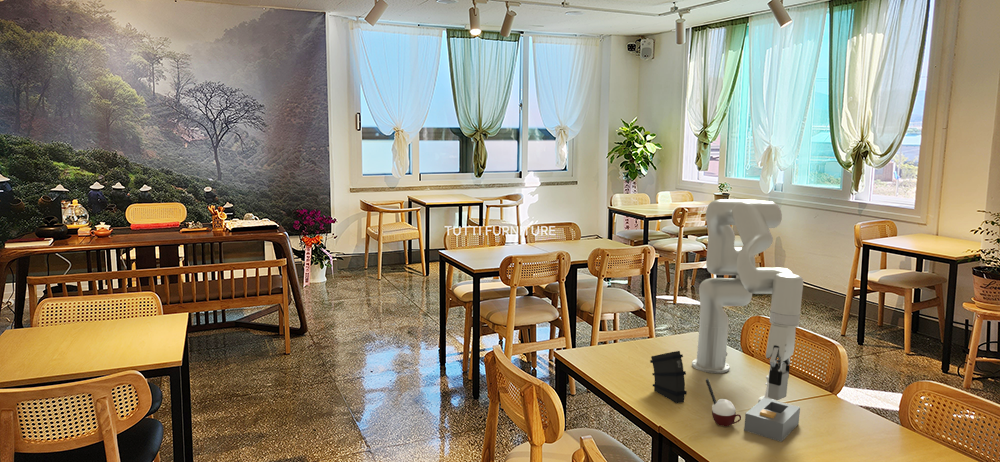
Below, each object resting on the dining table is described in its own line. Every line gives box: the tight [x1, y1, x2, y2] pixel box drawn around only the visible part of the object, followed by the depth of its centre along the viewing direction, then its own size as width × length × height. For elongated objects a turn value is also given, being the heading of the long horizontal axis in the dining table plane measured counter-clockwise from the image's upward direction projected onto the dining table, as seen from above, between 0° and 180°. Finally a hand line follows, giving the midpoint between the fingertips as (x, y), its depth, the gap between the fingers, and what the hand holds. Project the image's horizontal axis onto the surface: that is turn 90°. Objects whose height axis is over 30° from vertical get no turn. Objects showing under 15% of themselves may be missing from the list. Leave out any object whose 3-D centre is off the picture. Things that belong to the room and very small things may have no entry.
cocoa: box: [705, 377, 742, 427], centre depth 187 cm, size 10×6×12 cm
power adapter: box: [768, 358, 790, 401], centre depth 187 cm, size 3×5×12 cm, turn 128°
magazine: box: [649, 350, 687, 404], centre depth 206 cm, size 4×13×15 cm, turn 26°
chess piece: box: [758, 369, 777, 402], centre depth 204 cm, size 5×5×10 cm
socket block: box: [743, 398, 801, 443], centre depth 186 cm, size 15×10×6 cm, turn 140°
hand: (778, 380), depth 187 cm, fingers closed on power adapter, 5 cm apart
